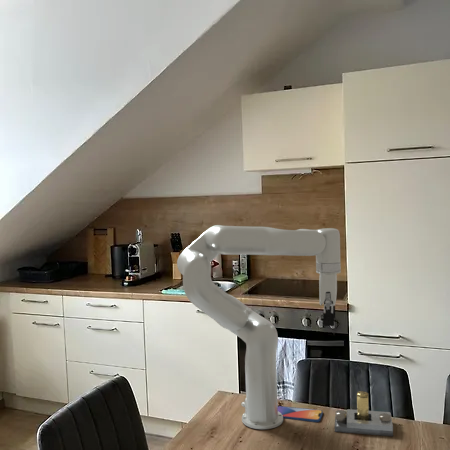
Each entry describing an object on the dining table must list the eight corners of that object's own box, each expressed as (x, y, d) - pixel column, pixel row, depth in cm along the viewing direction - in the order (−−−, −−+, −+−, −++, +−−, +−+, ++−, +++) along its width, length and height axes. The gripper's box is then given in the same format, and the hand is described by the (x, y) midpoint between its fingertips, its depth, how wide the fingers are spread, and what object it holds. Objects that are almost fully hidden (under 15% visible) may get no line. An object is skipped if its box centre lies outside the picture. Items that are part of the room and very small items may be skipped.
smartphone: (276, 408, 161) (276, 405, 161) (323, 413, 155) (323, 410, 155) (271, 418, 154) (270, 415, 154) (319, 423, 149) (319, 420, 148)
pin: (355, 426, 145) (354, 392, 145) (362, 423, 147) (361, 390, 147) (363, 430, 143) (363, 396, 142) (371, 426, 145) (370, 393, 144)
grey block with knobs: (334, 431, 143) (334, 418, 142) (335, 417, 151) (335, 405, 151) (392, 436, 139) (392, 423, 138) (390, 422, 147) (390, 409, 147)
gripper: (318, 264, 164) (319, 314, 165) (314, 272, 148) (315, 328, 148) (341, 264, 162) (342, 315, 163) (339, 272, 146) (341, 329, 147)
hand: (329, 321), depth 156 cm, fingers open, 9 cm apart
